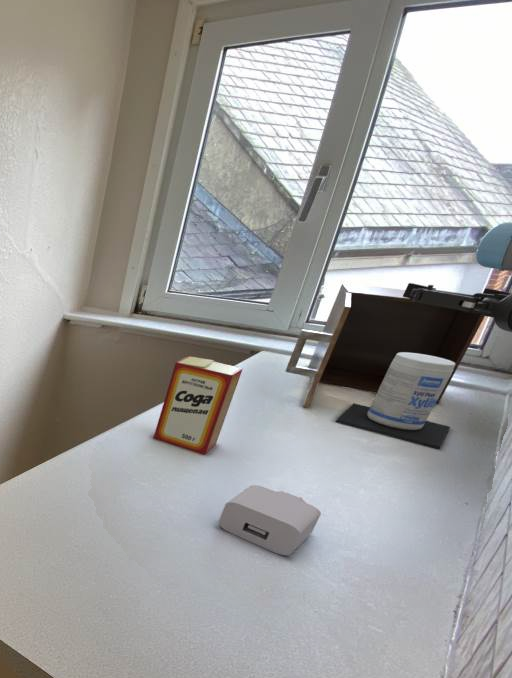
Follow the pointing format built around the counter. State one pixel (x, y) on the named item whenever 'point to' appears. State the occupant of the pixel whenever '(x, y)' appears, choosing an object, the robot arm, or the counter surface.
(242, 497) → the charger
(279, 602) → the counter surface
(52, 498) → the counter surface
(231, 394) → the baking soda box
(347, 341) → the cupboard
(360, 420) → the mat
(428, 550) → the counter surface
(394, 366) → the supplement tub
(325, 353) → the cupboard door
